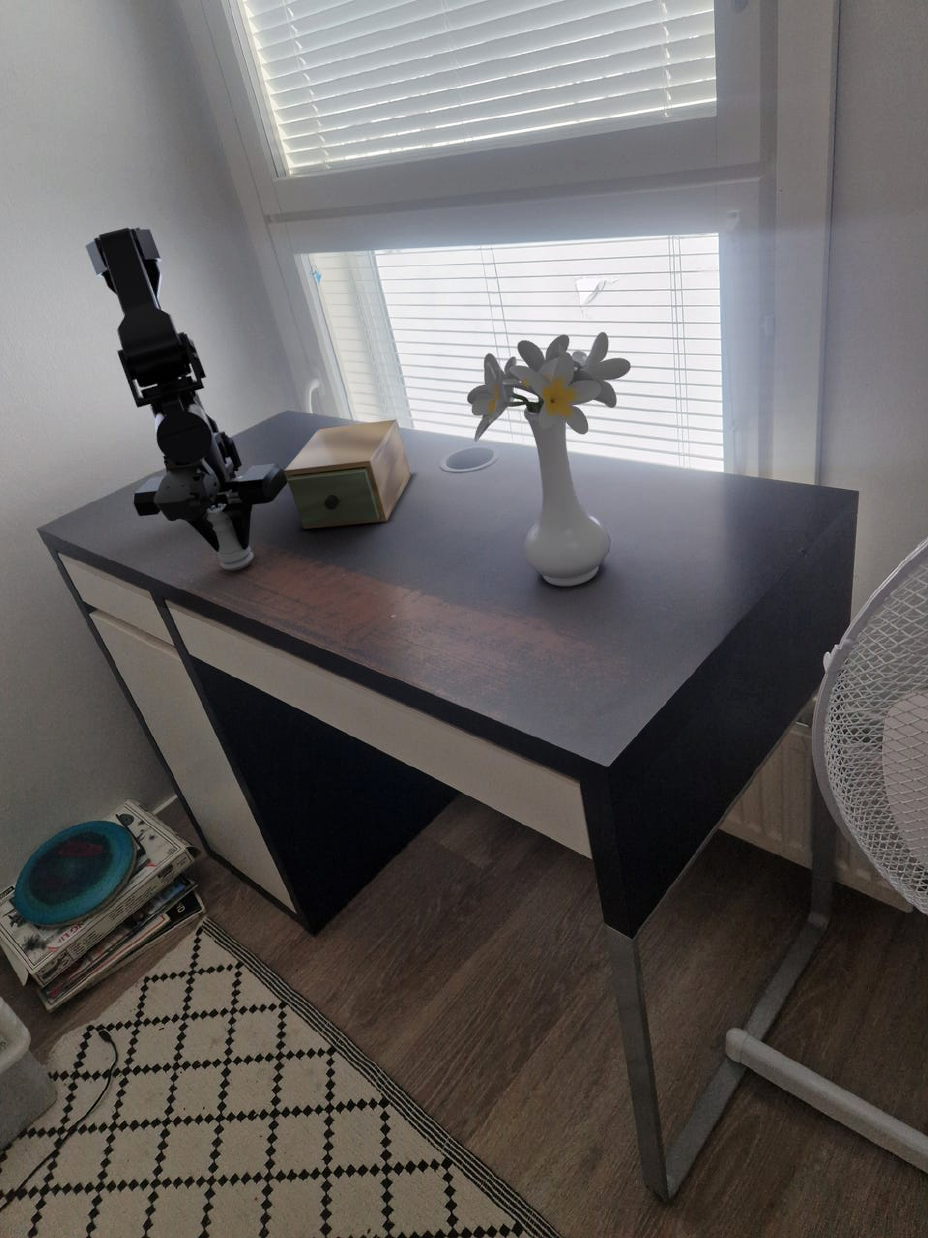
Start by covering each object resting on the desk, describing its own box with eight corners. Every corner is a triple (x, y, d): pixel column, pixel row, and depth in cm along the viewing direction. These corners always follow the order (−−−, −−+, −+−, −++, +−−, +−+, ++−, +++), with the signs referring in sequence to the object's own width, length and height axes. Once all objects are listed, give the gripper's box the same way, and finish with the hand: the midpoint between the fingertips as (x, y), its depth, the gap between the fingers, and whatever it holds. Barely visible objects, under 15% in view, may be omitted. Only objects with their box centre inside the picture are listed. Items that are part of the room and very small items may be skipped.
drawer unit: (386, 521, 114) (369, 460, 109) (303, 529, 117) (284, 470, 112) (411, 475, 125) (397, 418, 120) (335, 484, 128) (318, 429, 123)
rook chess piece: (225, 575, 109) (203, 520, 104) (217, 563, 112) (195, 509, 108) (258, 562, 110) (237, 507, 106) (249, 550, 113) (229, 496, 109)
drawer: (376, 524, 111) (362, 475, 108) (300, 531, 114) (283, 484, 111) (402, 477, 123) (390, 431, 119) (332, 484, 126) (318, 440, 122)
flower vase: (659, 535, 96) (640, 310, 83) (585, 624, 85) (549, 379, 71) (558, 523, 104) (526, 314, 90) (477, 603, 92) (426, 378, 78)
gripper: (85, 473, 97) (139, 587, 106) (230, 455, 93) (275, 577, 101) (133, 434, 106) (180, 543, 115) (268, 417, 102) (306, 531, 110)
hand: (232, 549), depth 110 cm, fingers closed on rook chess piece, 3 cm apart
